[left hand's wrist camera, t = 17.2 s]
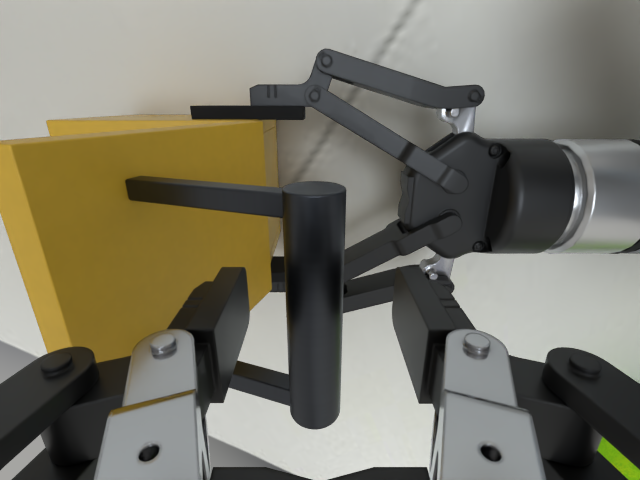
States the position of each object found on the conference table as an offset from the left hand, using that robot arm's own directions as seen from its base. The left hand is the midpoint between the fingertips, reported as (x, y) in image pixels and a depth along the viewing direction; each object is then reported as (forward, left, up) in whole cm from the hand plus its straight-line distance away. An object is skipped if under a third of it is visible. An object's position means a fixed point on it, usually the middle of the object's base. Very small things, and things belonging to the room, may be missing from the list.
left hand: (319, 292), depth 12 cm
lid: (-6, +1, -4) cm, 7 cm away
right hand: (-7, +1, -13) cm, 15 cm away
